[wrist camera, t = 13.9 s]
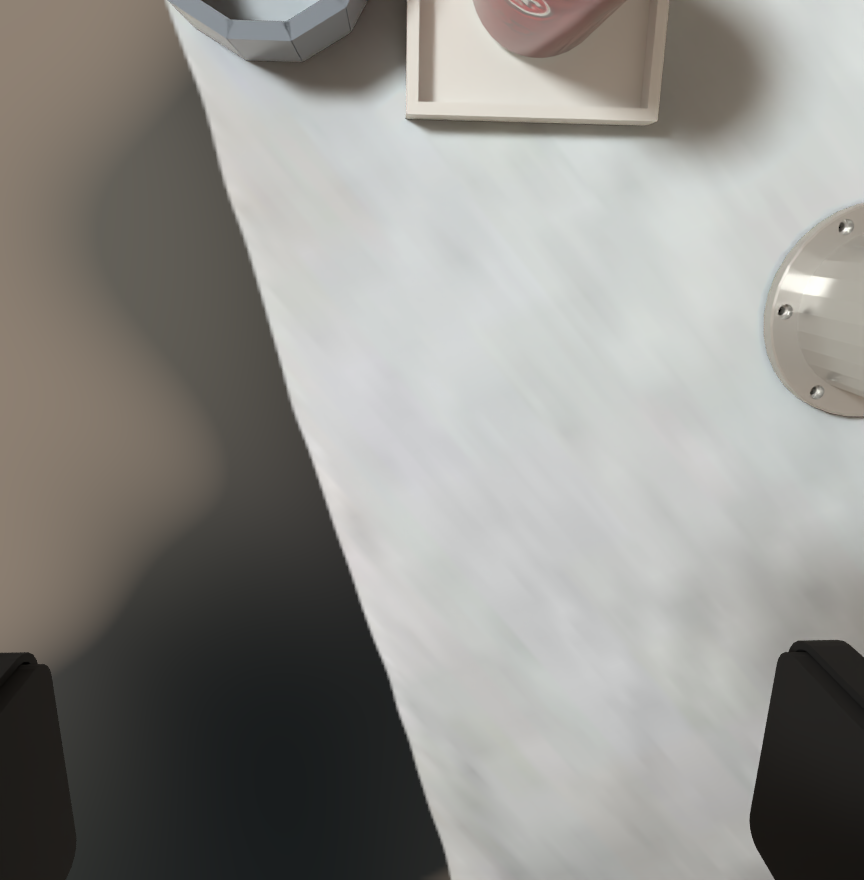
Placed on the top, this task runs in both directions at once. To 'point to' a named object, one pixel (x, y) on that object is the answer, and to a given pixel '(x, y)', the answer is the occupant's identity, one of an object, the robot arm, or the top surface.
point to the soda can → (543, 23)
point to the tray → (534, 69)
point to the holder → (276, 29)
